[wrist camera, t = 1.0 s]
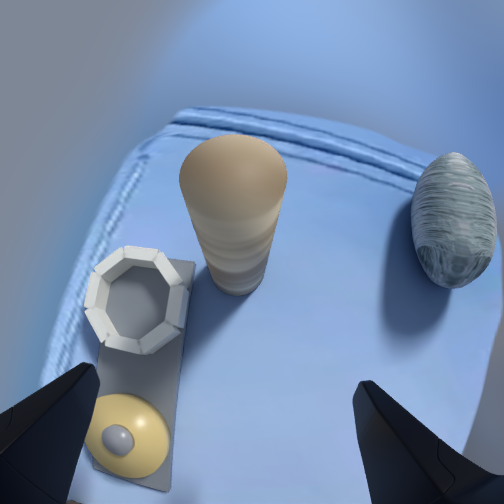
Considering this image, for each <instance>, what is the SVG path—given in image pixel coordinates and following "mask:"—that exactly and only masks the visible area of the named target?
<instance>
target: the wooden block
mask: <svg viewBox="0 0 504 504" xmlns="http://www.w3.org/2000/svg"><path fill="white" fill-rule="evenodd" d="M66 504H80V503H78V502H75V501H73V500H68V501H67V502H66Z"/></svg>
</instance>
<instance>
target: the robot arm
mask: <svg viewBox="0 0 504 504" xmlns="http://www.w3.org/2000/svg"><path fill="white" fill-rule="evenodd" d="M99 388H100V379H99V376H98V374H97V371H96V369H95V366H94V365H93V364H90V363H86V362H82V363H80V364H79V365H77V366H76V367H74V368H72V369H71V370H69V371H68V372H66V373H65V374H63V375H61V376H60V377H58V378H57V379H55V380H54V381H52V382H50V383H49V384H47V385H46V386H44V387H42V388H41V389H39V390H38V391H36V392H35V393H33V394H31V395H30V396H28V397H27V398H25V399H24V400H22V401H21V402H19V403H17V404H16V405H14V407H11V408H9V409H8V410H6V411H4V412H3V413H1V414H0V504H66V501H67V497H68V493H69V490H70V486H71V482H72V479H73V475H74V472H75V469H76V465H77V462H78V459H79V456H80V452H81V449H82V446H83V443H84V440H85V437H86V434H87V432H88V429H89V426H90V423H91V420H92V416H93V412H94V408H95V404H96V400H97V396H98V392H99ZM353 409H354V416H355V424H356V433H357V439H358V444H359V448H360V452H361V457H362V461H363V465H364V469H365V474H366V478H367V483H368V488H369V492H370V497H371V502H372V504H504V475H496V474H492V473H490V472H488V471H485V470H484V469H483V468H481V467H479V466H478V465H476V464H475V463H473V462H471V461H470V460H468V459H467V458H465V457H464V456H462V455H461V454H459V453H458V452H456V451H455V450H454V449H452V448H451V447H450V446H449V445H447V444H446V443H445V442H444V441H442V440H441V439H440V438H438V436H436V435H435V434H434V433H433V432H432V431H430V430H429V429H428V428H427V427H426V426H425V425H423V424H422V423H421V422H420V421H419V420H417V419H416V418H415V417H414V416H413V415H412V414H410V413H409V412H408V411H407V410H406V409H405V408H403V407H402V406H401V405H400V404H399V403H398V402H396V401H395V400H394V399H393V398H392V397H391V396H389V395H388V394H387V393H386V392H385V391H384V390H383V389H381V388H380V387H379V386H378V385H377V384H376V383H374V382H373V381H371V380H367V381H361V382H360V383H359V384H358V387H357V389H356V391H355V393H354V396H353Z"/></svg>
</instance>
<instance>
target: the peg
mask: <svg viewBox="0 0 504 504" xmlns="http://www.w3.org/2000/svg"><path fill="white" fill-rule="evenodd" d="M179 183H180V188H181V191H182V194H183V197H184V200H185V203H186V206H187V209H188V212H189V215H190V218H191V221H192V224H193V227H194V229H195V232H196V235H197V238H198V241H199V244H200V246H201V249H202V252H203V255H204V257H205V260H206V263H207V266H208V268H209V271H210V274H211V276H212V279H213V281H214V283H215V285H216V286H217V287H218V288H219V289H220V290H221V291H223V292H224V293H227V294H229V295H234V296H242V295H246V294H249V293H251V292H252V291H254V290H255V289H256V288H257V287H258V286H259V285H260V283H261V282H262V279H263V276H264V273H265V269H266V265H267V261H268V257H269V253H270V249H271V245H272V241H273V237H274V233H275V229H276V225H277V221H278V216H279V212H280V208H281V204H282V200H283V196H284V192H285V188H286V183H287V170H286V166H285V163H284V161H283V159H282V157H281V156H280V155H279V153H278V152H277V151H276V150H275V149H274V148H273V147H272V146H270V145H269V144H267V143H266V142H264V141H262V140H260V139H257V138H254V137H251V136H247V135H237V134H232V135H223V136H218V137H214V138H212V139H209V140H207V141H205V142H203V143H201V144H200V145H198V146H197V147H196V148H194V149H193V150H192V151H191V152H190V153H189V154H188V156H187V157H186V158H185V160H184V162H183V164H182V167H181V169H180V174H179Z"/></svg>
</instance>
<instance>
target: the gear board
mask: <svg viewBox="0 0 504 504" xmlns="http://www.w3.org/2000/svg"><path fill="white" fill-rule="evenodd" d="M195 267H196V264H195V262H193V261H185V260H176V259H168V258H166V256H165V255H164V253H163V252H160V251H159V250H158V249H152V248H144V247H135V246H126V245H125V248H124V249H123V248H122V247H120V248H119V249H117V250H116V251H115V252H113V253H112V254H111V255H109V256H108V257H107V258H106V259H104V260H103V261H102V262H101V263H99V264H98V265H97V266H95V267H94V269H95V271H96V272H91V276H90V280H89V284H88V289H87V293H86V298H85V303H84V307H86V308H88V309H87V310H85V311H84V312H85V314H86V316H87V318H88V320H89V322H90V323H91V325H92V327H93V329H94V331H95V333H96V334H97V336H98V338H99V340H100V347H99V355H98V363H97V374H98V376H99V379H100V388H99V392H98V396H97V400H96V404H95V408H94V412H93V416H92V420H91V423H90V426H89V429H88V432H87V434H86V437H85V440H84V441H85V443H86V446H87V448H88V449H89V451H90V453H91V454H92V455H93V468H95V469H97V470H100V471H102V472H105V473H107V474H110V475H113V476H115V477H118V478H121V479H124V480H127V481H130V482H133V483H136V484H140V485H143V486H147V487H150V488H154V489H158V490H162V491H166V492H169V491H170V489H171V477H172V459H173V444H174V430H175V419H176V408H177V398H178V388H179V379H180V370H181V362H182V354H183V346H184V339H185V331H186V324H187V317H188V310H189V304H190V297H191V291H192V285H193V279H194V273H195Z"/></svg>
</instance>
